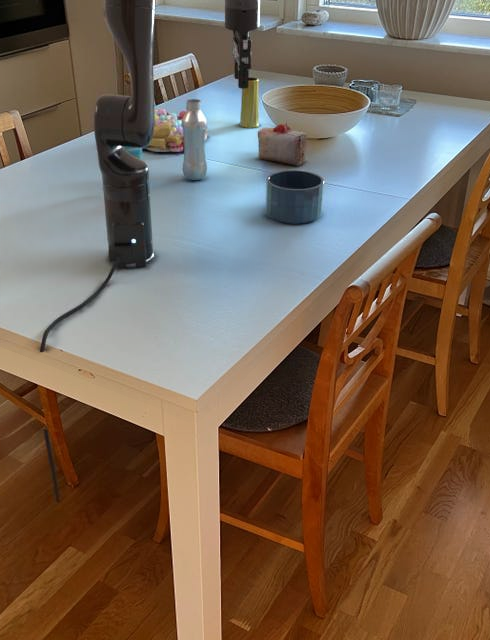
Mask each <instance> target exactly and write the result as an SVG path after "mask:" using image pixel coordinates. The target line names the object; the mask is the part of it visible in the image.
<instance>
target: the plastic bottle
mask: <svg viewBox="0 0 490 640" xmlns="http://www.w3.org/2000/svg"><path fill="white" fill-rule="evenodd" d="M185 108H186V114H185V115H184V117H183V119H181V121H182V130H183V136H184V149H183V161H182V168H181V169H182V175H183V176H184V178H185V179H186V180H191V181H198V180H202V179H204V178H205V177H206V175H207V172H208V165H207V164H208V163H207V160H206V149H205V146H206V145H205V143H206V140H205V133H206V131H207V130H206V125H208V121H207V117H206V116H205V115H204V113H203V112H202V111H201V110H202V100H200V99H197V98H192V99H191V98H190V99H187V100H186V106H185ZM187 109H188V110H187Z"/></svg>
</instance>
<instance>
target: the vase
mask: <svg viewBox="0 0 490 640" xmlns="http://www.w3.org/2000/svg"><path fill="white" fill-rule="evenodd" d="M259 82H260V78H258V77H256V76H249V81H248V88H243V89H241V98H240V99H241V100H240V103H241V104H240V118H239V119H240V121H239V126H240V127H241V128H246V129H253V128H258V127H259V126H260V123H259V122H260V121H259V117H260V116H259V113H260V111H259V110H260V109H259V104H260V103H259V99H260V98H259V93H260V92H259V86H260V84H259Z"/></svg>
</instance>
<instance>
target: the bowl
mask: <svg viewBox="0 0 490 640" xmlns="http://www.w3.org/2000/svg"><path fill="white" fill-rule="evenodd" d="M265 181H266V183H265V187H266V188H265V208H264V210H265V214H266V215H267V216H268V217H269V218H271V219H273V220H275V221H277V222H280V223H284V224H294V225H295V224H296V225H297V224H306V223H307V224H308V223H310V222H312V221H315V220H317V219H318V218H320V217H321V215H322V214H323V213H322V212H323V201H324V189H325V179H324V177H322V176H321V175H319V174H318V173H316V172H315V173H314V172H313V171H307V170H301V169H300V170H298V169H286V170H279V171H274V172H272V173H271V174H269V175H268V176H267V177H266V180H265Z"/></svg>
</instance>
